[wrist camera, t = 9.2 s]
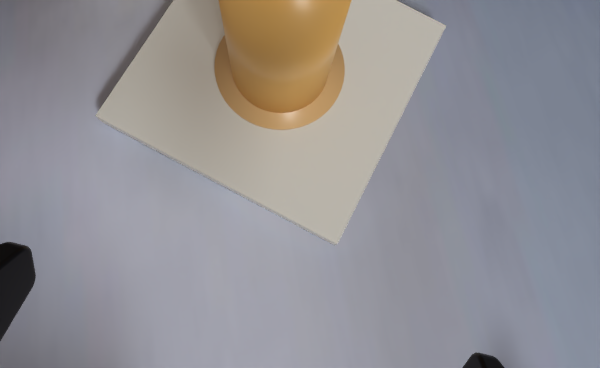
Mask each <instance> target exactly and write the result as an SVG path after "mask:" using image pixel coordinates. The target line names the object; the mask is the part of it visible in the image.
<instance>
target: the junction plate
mask: <svg viewBox="0 0 600 368" xmlns="http://www.w3.org/2000/svg"><path fill="white" fill-rule="evenodd" d="M445 27H446V25H444V24H442V23H440V22H438V21H436V20H434V19H432V18H430V17H428V16H426V15H424V14H422V13H420V12H418V11H416V10H414V9H412V8H410V7H408V6H406V5H405V4H403V3H401V2H399V1H397V0H352V1H351V4H350V7H349V10H348V14H347V17H346V20H345V23H344V26H343V30H342V33H341V36H340V39H339V43H338V46H337V49H336V52H335V56H334V59H333V62H332V65H331V69H330V72H329V75H328V78H327V81H326V84H325V87H324V89H323V90H322V92H321V93H320V95H319V96H318V97H317V98H316V99H315V100H314V101H313V102H312V103H311V104H309V105H308V106H306V107H304V108H302V109H300V110H297V111H293V112H288V113H274V112H269V111H265V110H262V109H260V108H258V107H256V106H254V105H253V104H251V103H250V102H248V101H247V100H246V99H245V98H244V97H243V96H242V94H241V93H240V92H239V90H238V89H237V87H236V85H235V83H234V80H233V76H232V71H231V65H230V60H229V55H228V49H227V44H226V38H225V33H224V28H223V22H222V17H221V11H220V6H219V1H218V0H173V2H172V3H171V5H170V6H169V8H168V9H167V10H166V12H165V13H164V15H163V16H162V18H161V19H160V21H159V22H158V24H157V25H156V27H155V28H154V30H153V31H152V33H151V34H150V36H149V37H148V39H147V40H146V42H145V43H144V44H143V46H142V47H141V49H140V50H139V52H138V53H137V55H136V56H135V58H134V59H133V61H132V62H131V64H130V65H129V67H128V68H127V70H126V71H125V73H124V74H123V76H122V77H121V78H120V80H119V81H118V83H117V84H116V86H115V87H114V89H113V90H112V92H111V93H110V95H109V96H108V98H107V99H106V101H105V102H104V104H103V105H102V107H101V108H100V109H99V111H98V112H97V114H96V115H95V116H96V117H97V118H98V119H100V120H101V121H102V122H103V123H105V124H107V125H109V126H111V127H112V128H114V129H116V130H118V131H120V132H122V133H124V134H126V135H128V136H129V137H131V138H133V139H135V140H137V141H139V142H141V143H143V144H144V145H146V146H148V147H150V148H152V149H154V150H156V151H158V152H160V153H161V154H163V155H165V156H167V157H169V158H171V159H173V160H175V161H176V162H178V163H180V164H182V165H184V166H186V167H188V168H190V169H192V170H193V171H195V172H197V173H199V174H201V175H203V176H205V177H207V178H208V179H210V180H212V181H214V182H216V183H218V184H220V185H222V186H224V187H225V188H227V189H229V190H231V191H233V192H235V193H237V194H239V195H240V196H242V197H244V198H246V199H248V200H250V201H252V202H254V203H256V204H257V205H259V206H261V207H263V208H265V209H267V210H269V211H271V212H272V213H274V214H276V215H278V216H280V217H282V218H284V219H286V220H288V221H289V222H291V223H293V224H295V225H297V226H299V227H301V228H303V229H304V230H306V231H308V232H310V233H312V234H314V235H316V236H318V237H320V238H321V239H323V240H325V241H327V242H329V243H331V244H333V245H337V244H338V242H339V240H340V238H341V236H342V234H343V232H344V230H345V228H346V226H347V224H348V222H349V220H350V218H351V216H352V214H353V212H354V210H355V208H356V206H357V204H358V202H359V200H360V198H361V196H362V194H363V192H364V190H365V188H366V186H367V184H368V182H369V180H370V178H371V176H372V174H373V172H374V170H375V168H376V166H377V164H378V162H379V160H380V158H381V156H382V154H383V152H384V150H385V148H386V146H387V144H388V142H389V140H390V138H391V136H392V134H393V132H394V130H395V128H396V126H397V124H398V122H399V120H400V118H401V115H402V113H403V111H404V109H405V107H406V105H407V103H408V101H409V99H410V97H411V95H412V93H413V91H414V89H415V87H416V85H417V83H418V81H419V79H420V77H421V75H422V73H423V71H424V69H425V67H426V65H427V63H428V61H429V59H430V57H431V55H432V53H433V51H434V49H435V47H436V45H437V43H438V41H439V39H440V37H441V35H442V33H443V31H444V29H445Z"/></svg>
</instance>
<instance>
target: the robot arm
mask: <svg viewBox="0 0 600 368" xmlns="http://www.w3.org/2000/svg"><path fill="white" fill-rule="evenodd" d="M35 276H36V275H35V269H34V263H33V257H32V252H31V249H30V248H29V247H28V246H25V245H21V244H17V243H12V242H6V243H2V244H0V341H1V339H2V337H3V336H4V334H5V332H6V331H7V329H8V327H9V326H10V324H11V322H12V321H13V319H14V317H15V316H16V314H17V312H18V311H19V309H20V307H21V306H22V304H23V302H24V301H25V299H26V297H27V295H28V294H29V292H30V290H31V289H32V287H33V285H34V282H35ZM463 368H504V367H503V365H502V364H501V363H500V361H499V360H498V359H497V358H495V357H493V356H490V355H486V354H482V353H474V354H472V355H471V357H470V358H469V359H468V361H467V362H466V364H465V365H464V366H463Z"/></svg>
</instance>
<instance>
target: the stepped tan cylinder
mask: <svg viewBox="0 0 600 368" xmlns="http://www.w3.org/2000/svg"><path fill="white" fill-rule="evenodd" d="M218 1H219V6H220V11H221V17H222V22H223V28H224V33H225V38H226V44H227V49H228V55H229V60H230V65H231V71H232V76H233V80H234V83H235V85H236V87H237V89H238V90H239V92H240V93H241V94H242V96H243V97H244V98H245V99H246V100H247V101H248V102H250V103H251V104H253V105H254V106H256V107H258V108H260V109H262V110H265V111H269V112H274V113H288V112H293V111H297V110H300V109H302V108H304V107H306V106H308V105H309V104H311V103H312V102H313V101H314V100H315V99H316V98H317V97H318V96H319V95H320V93H321V92H322V90H323V89H324V87H325V84H326V81H327V78H328V75H329V72H330V69H331V65H332V62H333V59H334V56H335V52H336V49H337V46H338V43H339V39H340V36H341V33H342V30H343V26H344V23H345V20H346V17H347V14H348V10H349V7H350V4H351V1H352V0H218Z"/></svg>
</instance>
